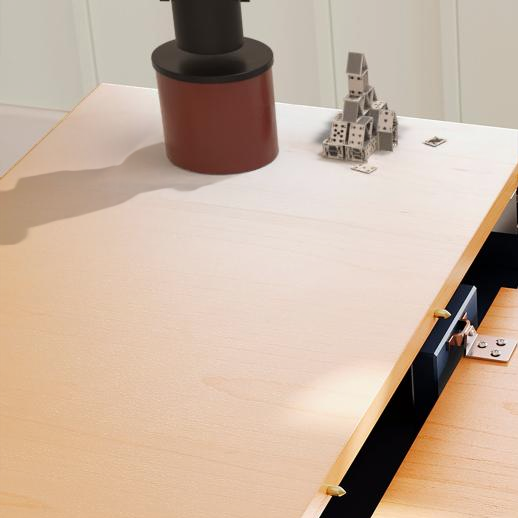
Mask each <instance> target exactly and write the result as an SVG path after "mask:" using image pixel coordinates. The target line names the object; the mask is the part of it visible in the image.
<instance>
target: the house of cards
mask: <svg viewBox="0 0 518 518" xmlns="http://www.w3.org/2000/svg"><path fill="white" fill-rule="evenodd" d="M347 52H348V53H347V61H346V69H345V75H347V87H348V93H347V94H346V95H345V97H344V98H343V104H342V111H341V112H339V113H338V114H337V115H336V116H335V117H334V118H333V119H332V120H331V129H330V134H329V135H328V136H327V137H326V138H325V139H324V140H323V141H322V156H323V158H329V159H334V160H342V161H345V162H347V161H351V162H357V164H355V165H354V166H351V169H353V170H356V171H360V172H363V173H366V174H370V173H372V172H373V171H375V170H377V169H378V167H376V166H373V165H369V164H368V163H369V162H368V161H369V158H370V157H371V155H372V154H373V153H374V152H375V151H376V150H378V151H381V150H383V151H382V152H388V151H389V152H388V153H394V146H397V145H398V146H399V135H398V134H399V132H398V126H399V122H398V118H397V115H396V111H395V110H393V109H392V110H391V109H389V106H388V103H387V101H383V100H378V96H377V93H376V90H375V85H369V66H368V63H367V60H366V56H365V53H362V52H356V51H355V52H354V51H347ZM447 140H448V138H445V137H441V136H438V135H434V136H432V137H430V138H428V139H426V140H425V141H423V143H424V144H427V145H431V146H433V147H436V146H439V145H440V144H442V143H444V142H446V141H447ZM393 144H394V145H393ZM395 144H396V145H395ZM377 146H378V147H377ZM377 148H378V149H377Z"/></svg>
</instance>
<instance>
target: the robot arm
mask: <svg viewBox="0 0 518 518" xmlns="http://www.w3.org/2000/svg"><path fill="white" fill-rule="evenodd" d="M240 1H241V3H251V0H240ZM159 2H171V0H159Z"/></svg>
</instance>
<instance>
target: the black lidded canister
mask: <svg viewBox="0 0 518 518" xmlns="http://www.w3.org/2000/svg"><path fill="white" fill-rule="evenodd" d="M170 2H171V3H170V4H171V10H172V22H173V30H174V39H176V45H177V47H178V48H179V49H181V50H183V51H185V52H188V53H193V54H199V55H219V54H226V53H230V52H233V51H236V50H238V49H240V48H241V47H242V46H243V45H244V37H245V36H244V24H243V14H242V2H241V1H240V0H170Z"/></svg>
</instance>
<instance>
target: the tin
mask: <svg viewBox="0 0 518 518" xmlns="http://www.w3.org/2000/svg"><path fill="white" fill-rule="evenodd" d="M150 60H151V66H152V68H153V69H154V71H155V78H156V85H157V94H158V101H159V108H160V117H161V123H162V132H163V139H164V147H165V154H166V158H167V160H168V161H169V162H170V163H171V164H172V165H174V166H176V167H177V168H180V169H182V170H185V171H187V172H191V173H195V174H196V173H197V174H202V175H203V174H205V175H219V176H220V175H234V174H242V173H246V172H251V171H255V170H258V169H261V168H263V167H265V166H267V165H269V164H270V163H272V162H273V161H274V160H275V159H276V158H277V157H278V155H279V153H280V152H279V151H280V147H279V137H278V125H277V123H278V122H277V112H276V111H277V110H276V100H275V89H274V87H275V86H274V76H273V75H274V74H273V66H274V63H275V59H274V52H273V49H272V48H271V47H270V46H269V45H267V44H266V43H264V41H263V42H262V41H260V40H258V39H255V38H251V37H247V36H244V45H243V46H242V47H241V48H240V49H238V50H236V51H233V52H230V53H226V54H219V55H199V54H193V53H188V52H185V51H183V50H181V49H179V48H178V47H177V45H176V39H175V38H174V39H171V40H169V41H166V42H164V43H162V44H160V45H158V46H157V47H156V48H154V50H153V51H152V52H151V54H150Z"/></svg>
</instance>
